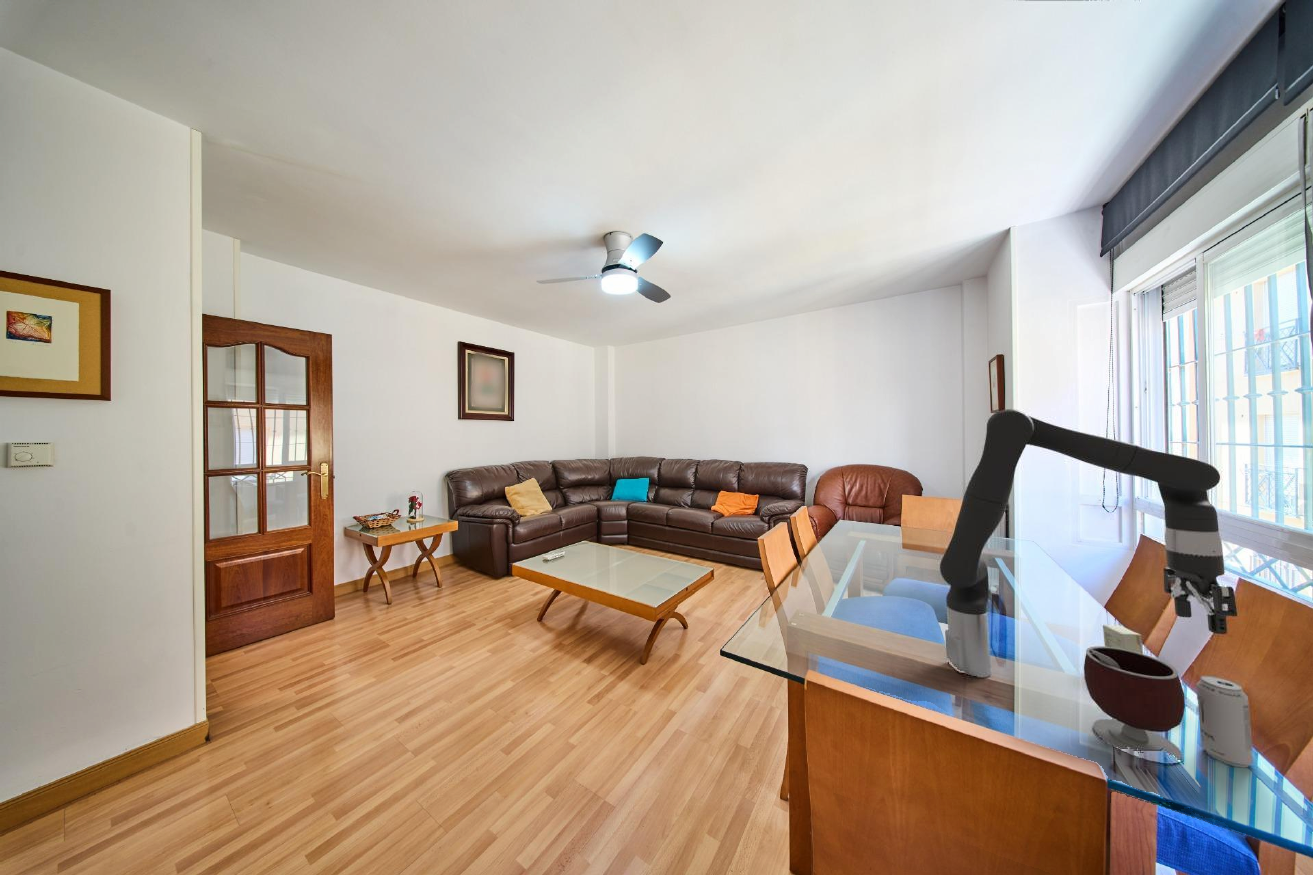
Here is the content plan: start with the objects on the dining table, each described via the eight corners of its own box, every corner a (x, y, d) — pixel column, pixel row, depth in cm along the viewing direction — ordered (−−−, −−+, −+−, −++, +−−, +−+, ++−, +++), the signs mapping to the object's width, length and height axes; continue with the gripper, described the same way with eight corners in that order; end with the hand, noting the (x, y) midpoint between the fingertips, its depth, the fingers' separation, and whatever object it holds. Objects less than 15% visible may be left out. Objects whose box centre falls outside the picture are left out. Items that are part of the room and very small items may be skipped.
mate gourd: (1127, 717, 93) (1120, 630, 93) (1212, 764, 79) (1204, 662, 80) (1063, 722, 92) (1057, 634, 93) (1137, 770, 79) (1129, 667, 79)
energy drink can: (1198, 742, 85) (1192, 670, 85) (1248, 756, 81) (1242, 681, 81) (1205, 758, 81) (1199, 683, 81) (1258, 775, 76) (1252, 695, 77)
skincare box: (1146, 682, 105) (1143, 635, 106) (1126, 681, 106) (1123, 634, 107) (1123, 668, 112) (1120, 624, 112) (1105, 667, 113) (1101, 623, 113)
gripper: (1250, 559, 80) (1258, 641, 79) (1189, 542, 93) (1196, 613, 92) (1196, 557, 83) (1204, 636, 82) (1145, 541, 96) (1151, 609, 95)
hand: (1199, 624), depth 87 cm, fingers open, 8 cm apart
